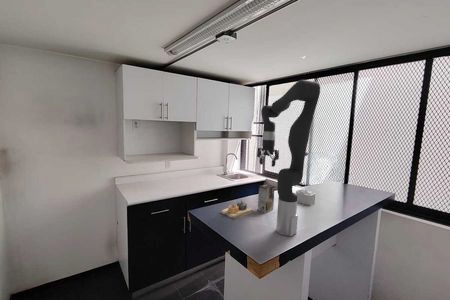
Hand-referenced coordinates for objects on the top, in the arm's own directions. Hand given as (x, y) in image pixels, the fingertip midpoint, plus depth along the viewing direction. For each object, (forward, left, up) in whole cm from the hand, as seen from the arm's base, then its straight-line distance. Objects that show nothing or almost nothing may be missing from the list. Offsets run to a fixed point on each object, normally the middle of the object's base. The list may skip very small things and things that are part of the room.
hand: (267, 165), depth 131 cm
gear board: (+11, +13, -30) cm, 35 cm away
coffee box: (+2, -4, -30) cm, 31 cm away
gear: (+11, +17, -29) cm, 35 cm away
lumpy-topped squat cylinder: (-7, -40, -30) cm, 51 cm away
